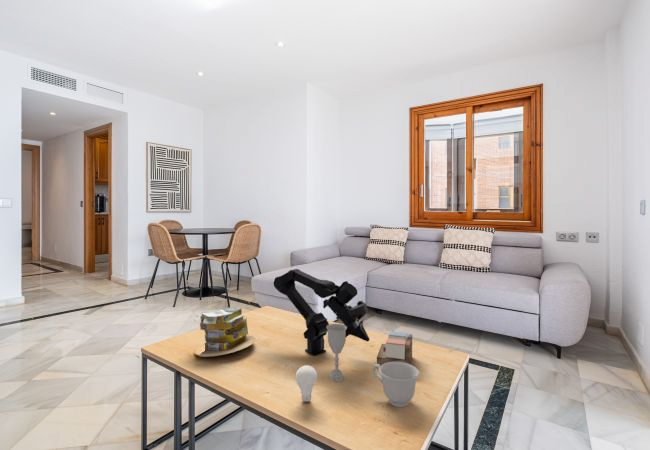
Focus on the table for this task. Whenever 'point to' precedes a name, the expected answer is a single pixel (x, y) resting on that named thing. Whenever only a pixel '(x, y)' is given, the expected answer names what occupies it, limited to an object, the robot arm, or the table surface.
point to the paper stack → (225, 332)
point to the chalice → (336, 346)
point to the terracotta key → (395, 348)
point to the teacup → (397, 381)
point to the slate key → (398, 335)
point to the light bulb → (306, 381)
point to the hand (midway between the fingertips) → (368, 340)
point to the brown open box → (408, 358)
